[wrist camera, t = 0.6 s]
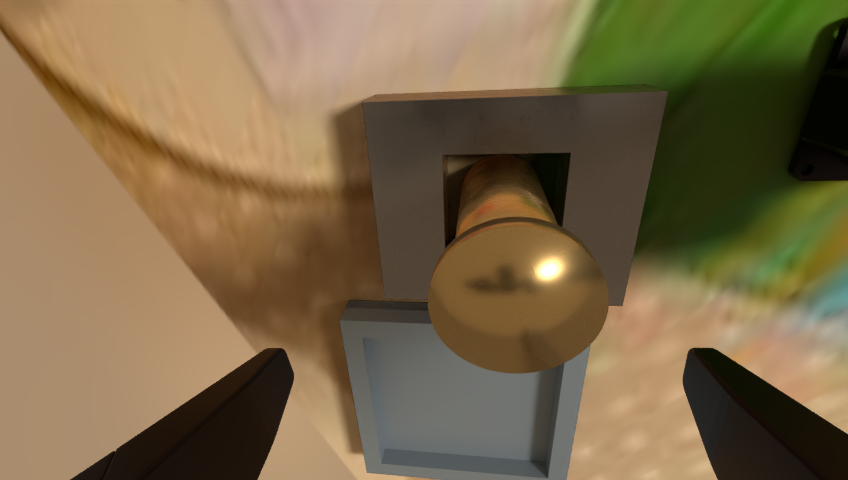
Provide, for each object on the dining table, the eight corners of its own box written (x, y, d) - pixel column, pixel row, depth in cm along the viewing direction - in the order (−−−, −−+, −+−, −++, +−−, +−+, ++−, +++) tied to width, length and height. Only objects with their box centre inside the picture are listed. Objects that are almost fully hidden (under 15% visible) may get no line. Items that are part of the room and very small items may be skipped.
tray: (584, 307, 23) (593, 330, 21) (559, 463, 29) (564, 491, 27) (349, 300, 25) (339, 320, 23) (373, 447, 31) (367, 472, 29)
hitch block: (644, 84, 17) (668, 91, 15) (607, 278, 22) (622, 306, 20) (376, 94, 19) (362, 102, 17) (393, 273, 23) (384, 298, 21)
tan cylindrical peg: (557, 141, 19) (623, 229, 10) (548, 238, 21) (594, 377, 13) (448, 143, 20) (423, 227, 11) (450, 237, 22) (431, 369, 13)
